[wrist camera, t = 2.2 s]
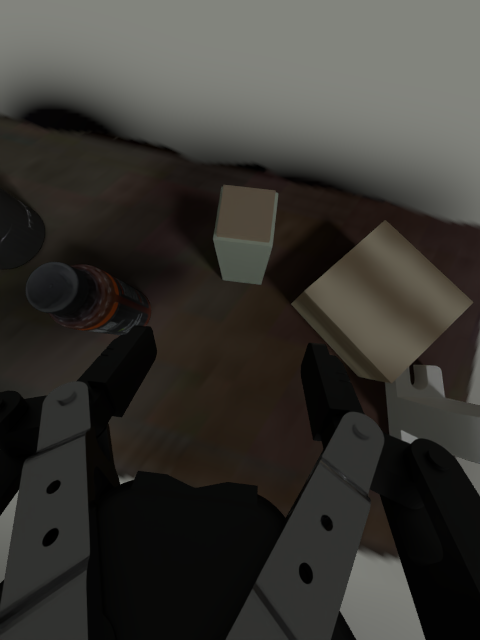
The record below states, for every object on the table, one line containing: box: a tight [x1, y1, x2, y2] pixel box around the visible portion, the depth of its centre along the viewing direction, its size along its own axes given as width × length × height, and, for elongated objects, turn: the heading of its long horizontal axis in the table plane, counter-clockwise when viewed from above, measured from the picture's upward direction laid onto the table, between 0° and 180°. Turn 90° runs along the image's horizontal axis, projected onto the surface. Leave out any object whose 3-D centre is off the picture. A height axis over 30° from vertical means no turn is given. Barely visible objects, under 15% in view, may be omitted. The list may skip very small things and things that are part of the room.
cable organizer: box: [385, 365, 480, 464], centre depth 20 cm, size 5×10×10 cm, turn 179°
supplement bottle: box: [26, 262, 151, 335], centre depth 21 cm, size 6×6×11 cm
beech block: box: [291, 220, 473, 383], centre depth 24 cm, size 12×12×6 cm
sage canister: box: [213, 185, 278, 285], centre depth 23 cm, size 5×5×11 cm
